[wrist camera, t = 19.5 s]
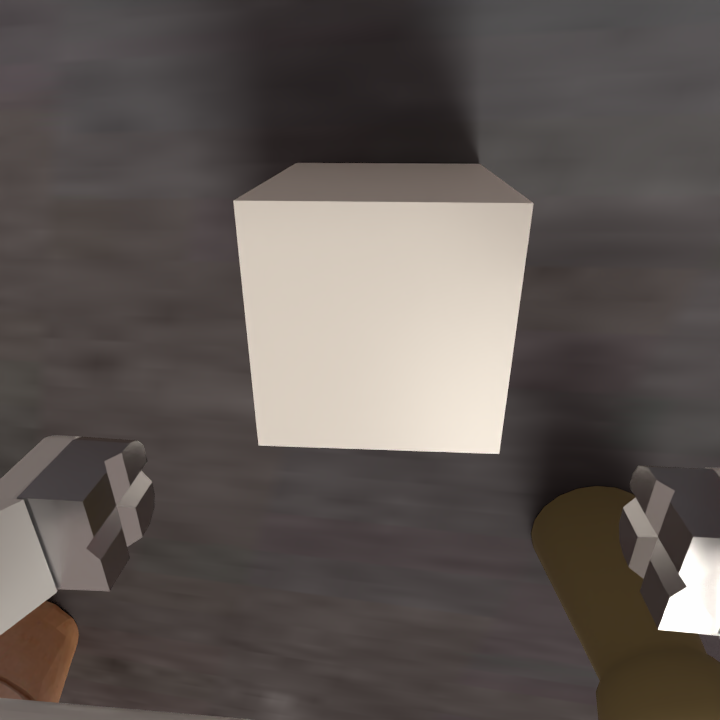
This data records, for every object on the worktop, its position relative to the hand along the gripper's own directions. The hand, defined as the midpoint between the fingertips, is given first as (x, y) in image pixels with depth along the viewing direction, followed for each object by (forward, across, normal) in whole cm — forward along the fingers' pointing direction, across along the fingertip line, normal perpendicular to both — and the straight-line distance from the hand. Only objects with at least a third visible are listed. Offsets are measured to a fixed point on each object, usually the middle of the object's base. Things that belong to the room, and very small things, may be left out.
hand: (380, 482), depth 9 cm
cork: (+15, -10, +14) cm, 23 cm away
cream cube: (+14, 0, 0) cm, 14 cm away
